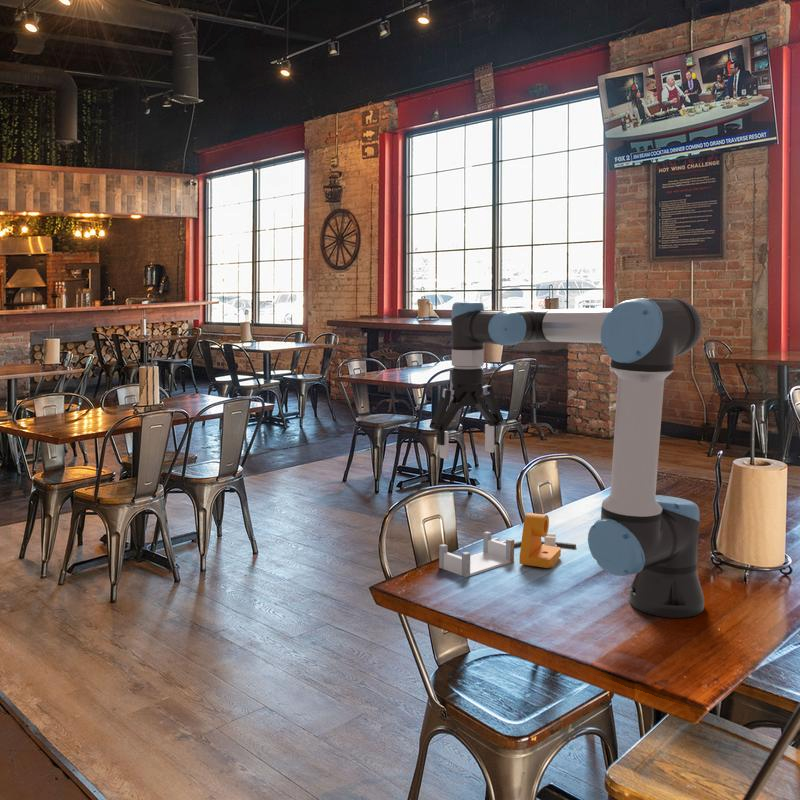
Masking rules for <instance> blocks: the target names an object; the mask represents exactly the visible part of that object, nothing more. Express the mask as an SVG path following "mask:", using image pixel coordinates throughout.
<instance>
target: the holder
mask: <svg viewBox="0 0 800 800" xmlns="http://www.w3.org/2000/svg"><path fill="white" fill-rule="evenodd" d="M482 536H483V537H482V539H483V542H482V543H483V544H482V546H483V547H482V548H483V551H480V552H478V553H475V554H472V555H471V552H469V551H463V552H461V556H460V555H458V554H454V553H452V552H449V551H448V548H449V547H448V545H447V544H444V543H443V544H438V545H439V546H438V549H439V550H438V555H439V557H438V559H439V561H438V563H439V564H438V567H439V568H440V569H442V570H445V571H447V572H450V573H454V574H455V575H458V576H460V577H463V578H468V577H472V576H476V575H478V574H481V573H484V572H486V571H490V570H493V569H496V568H499V567H502V566H503V567H504V566H505V565H509V564H511V563H514V562H515V547H514V542H515V538H514V539H513V538H507V539H505V540H506V543H503V542H501V541H500V540H499V541H496V540H493V539H494V538H492V531H491V532H490V531H484V532H483V534H482Z"/></svg>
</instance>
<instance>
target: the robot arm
mask: <svg viewBox="0 0 800 800" xmlns="http://www.w3.org/2000/svg"><path fill="white" fill-rule="evenodd" d="M450 321H451V365H452V366H453V367H452V369H451V383H452V388H451V389H447V388H442V389H441V390H440V398H439V401H438V402H437V403H438V404H437V405H436V408H435V411H434V413H433V416H432V419H431V421H430V424H429V428H430V429H431V430H435V431H436V444H437V445H439V446H438V447H439V448H438V451H439V452H438V453H439V458H441V459H444V460H449V455H450V453H449V452H450V451H449V444H450V443H449V440H450V439H449V435H450V434H449V431H448V430H447V429H448V427H449V425H450V424H451V423H452V421H453V420H454V418H455V417H456V415H457V414H458V412H459V411H460V410H461V409H462V407H464V408H466V407H470V406H471V407H475V408H476V409H477V411H478V412H479V413H480V414H481V416H482V417H483V418H484V420H485V421H486V422H487V424H484V452H488V453H492V454H493V453H495V439H496V438H497V427H498V426H500V423H503V422H504V417H503V414H502V411H501V409H500V407H499V404H498V402H497V399H496V397H495V394H494V387H493V386H492V385H488V384H483V382H484V369H483V366H484V344H491V345H500V346H514V345H517V344H521V343H522V344H523V343H535V342H537V343H538V342H539V343H540V342H541V343H542V342H543V343H544V342H546V343H553V342H554V343H579V344H580V343H585V344H586V343H587V344H601V345H602V346H601V347H602V348H603V349H605V354H606V355H607V356H608V357H609V358H610V359H611V360H610V369H611V370H612V372H613V373H615V375H616V376H617V385H616V386H617V387H616V388H617V389H616V401H615V415H614V416H615V420H614V430H613V431H614V432H613V447H612V448H613V449H612V450H613V451H612V465H611V477H610V479H611V480H610V481H611V482H610V493H609V496H608V497H606V498H605V499H603V500H602V502H601V510H600V511H601V512H600V519H598V520H596V521H595V522H594V524H592V525H591V527H590V528H589V531H588V534H587V543H588V549H589V552H590V555H591V556H592V558H593V559H594V560H595V561H596V563H597V565H598V566H599V567H600V568H601V569H602V570H604V572H606V573H608V574H610V575H613V576H617V577H626V576H630V575H634V578H633V581H632V583H631V586H630V587H629V596H628V597H629V599H628V600H629V603H630V605H631V606H632V607H633V608H635V609H636V610H638V611H641V612H642V613H645V614H649V615H652V616H656V617H663V618H671V619H672V618H673V619H678V618H679V619H682V618H683V619H684V618H690V617H695V616H698V615H700V614H701V613H703V611H704V610H705V596H704V592H703V589H702V586H701V583H700V579H699V575H698V556H699V555H698V554H699V535H700V523H701V520H700V519H701V518H700V508H699V506H698V505H697V503H695V502H693V501H692V500H688V499H685V498H680V497H676V496H669V495H661V494H659V495H658V494H656V493H657V492H656V491H657V482H658V481H657V480H658V479H657V477H658V467H659V454H660V451H659V450H660V442H661V441H660V439H661V426H662V425H661V424H662V415H663V414H662V413H663V400H664V390H665V388H664V387H665V380H666V379H667V378H668V377H669V376H670V375H671V374H672V373H673V372H674V366H675V357H679V356H682V355H684V354H686V353H688V352H690V351H691V350H692V349H694V347H695V346H696V345H697V343H698V342H699V341H700V339H701V336H702V332H703V322H702V321H703V320H702V317H701V314H700V313H699V311H698V310H697V308H696V307H695V306H694V305H693V304H692V303H691V302H689V301H687V300H685V299H682V298H677V297H665V298H664V297H663V298H662V297H660V298H659V297H657V298H654V297H653V298H648V297H647V298H645V297H641V298H636V297H635V298H634V299H628V300H624V301H620V302H619V303H617V304H615V305H614V306H613V307H612V308H558V309H557V308H556V309H555V308H554V309H550V308H549V309H548V308H539V309H527V310H526V309H525V310H523V309H522V310H485V308H484V303H482V301H455V302H454V303H453V304H452V307H451V318H450ZM482 384H483V385H482ZM482 395H483V396H484V399H485V401H486V402H485V401H484V399H483V398H482V397H481V396H482ZM451 398H452V399H451ZM486 404H487V405H486Z"/></svg>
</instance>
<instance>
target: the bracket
mask: <svg viewBox="0 0 800 800" xmlns="http://www.w3.org/2000/svg"><path fill="white" fill-rule="evenodd" d="M549 525H550V518H549V516H548V515H547V514H543V513H542V514H541V513H536V512H535V513H532V512H527V513H526V514H525V516H524V519H523V526H522V527H523V528H522V534H521V546H520V550H519V561H518V563H519V564H520V565H525V566H533V567H540V568H546V569H549V568H551V569H552V568H554V566H555V565H556V564H558V562H559V561H560V559H559V558H560V557H561V552H562V551H561V548H562V547H558V546H557V547H554V546H547V545H542V541H543V540H542V538H544V537H546V535H547V533H549V527H550V526H549Z"/></svg>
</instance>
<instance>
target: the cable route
mask: <svg viewBox="0 0 800 800" xmlns="http://www.w3.org/2000/svg"><path fill="white" fill-rule="evenodd" d="M556 534H557V533H550V532H548V533H547V535H546V537H543V538H544V540H541V541H542V545H547V546H554V547H560V548H568V549H577V544H576V543H568V542H562V541H557V540H556V538H557V537H556V536H557V535H556ZM492 539H493V540H496V541H500V537H495V538H492ZM521 541H522V540H521ZM521 541H514V548H517V547H521ZM500 542H503V543H506V539H505V540H502V541H500Z"/></svg>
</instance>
